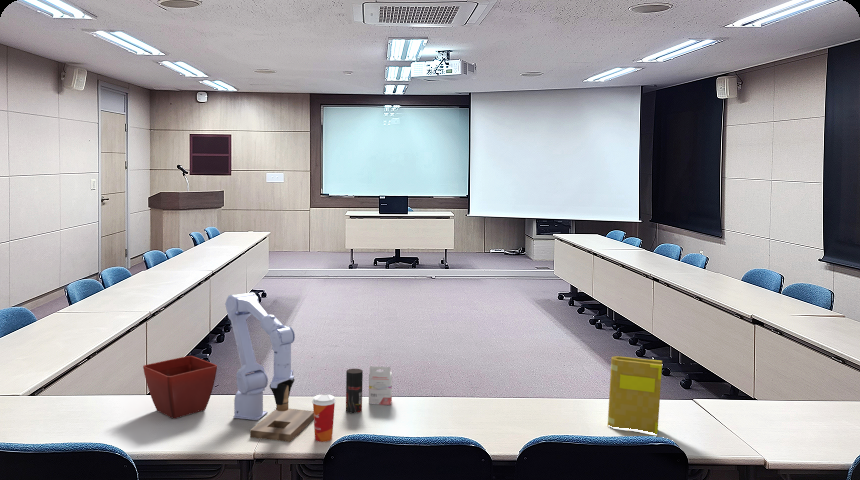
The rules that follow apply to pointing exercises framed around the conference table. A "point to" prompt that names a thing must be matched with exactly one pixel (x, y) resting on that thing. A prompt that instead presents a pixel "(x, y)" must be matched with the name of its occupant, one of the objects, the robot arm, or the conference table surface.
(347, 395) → the deodorant
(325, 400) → the paper cup
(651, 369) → the book
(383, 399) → the ink cartridge box
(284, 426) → the socket board
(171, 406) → the plant pot
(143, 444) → the conference table surface
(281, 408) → the peg
